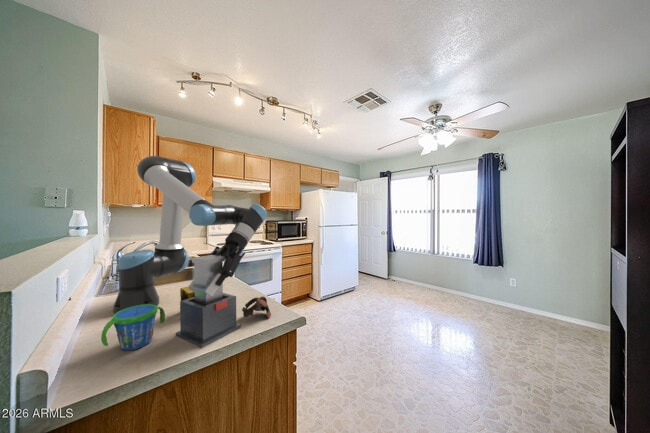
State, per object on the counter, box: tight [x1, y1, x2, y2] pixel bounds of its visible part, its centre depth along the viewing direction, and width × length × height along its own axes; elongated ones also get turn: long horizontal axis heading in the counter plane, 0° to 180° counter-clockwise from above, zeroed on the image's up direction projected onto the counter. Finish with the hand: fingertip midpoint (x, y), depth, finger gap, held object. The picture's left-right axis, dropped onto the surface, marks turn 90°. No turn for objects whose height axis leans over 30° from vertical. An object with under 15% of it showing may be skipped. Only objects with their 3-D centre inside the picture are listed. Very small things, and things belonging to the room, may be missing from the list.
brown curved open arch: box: [241, 295, 272, 320], centre depth 90 cm, size 12×10×8 cm
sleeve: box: [175, 292, 242, 349], centre depth 77 cm, size 14×14×11 cm
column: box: [191, 254, 225, 306], centre depth 77 cm, size 7×7×24 cm
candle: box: [179, 286, 195, 301], centre depth 93 cm, size 10×10×10 cm
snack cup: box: [100, 304, 166, 351], centre depth 70 cm, size 16×10×10 cm
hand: (199, 291), depth 75 cm, fingers open, 9 cm apart
